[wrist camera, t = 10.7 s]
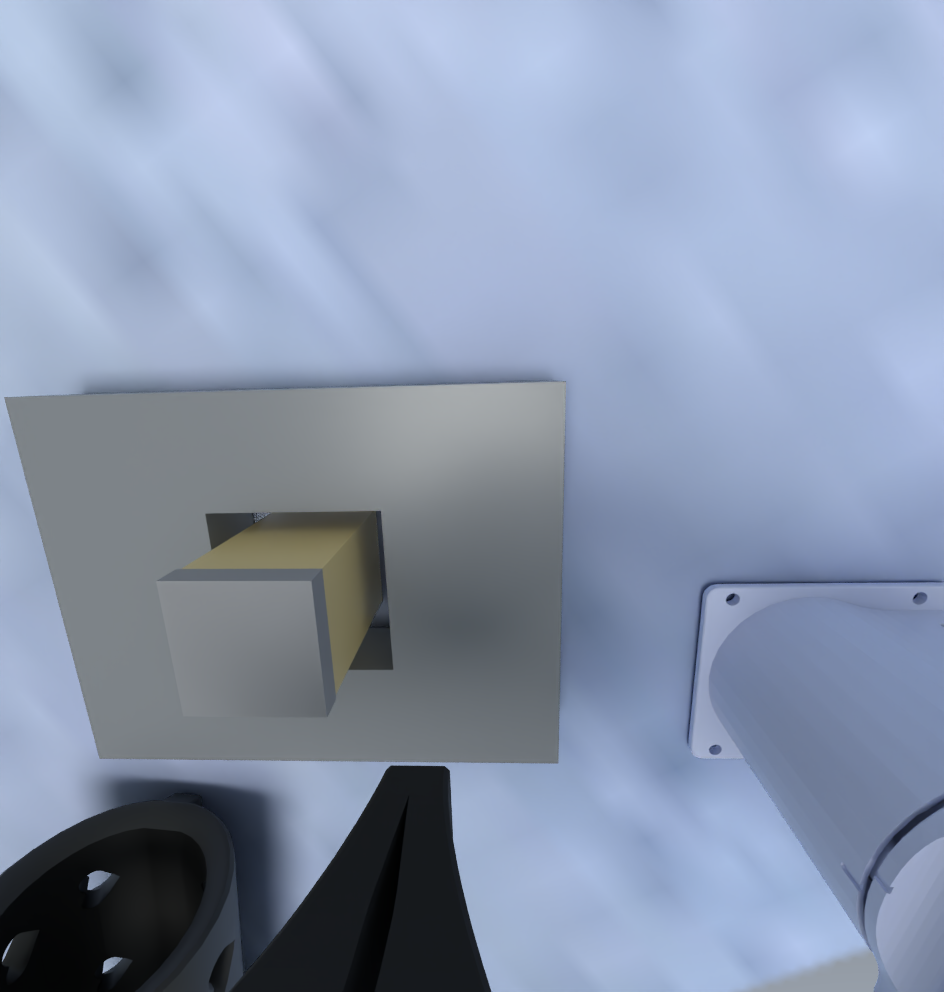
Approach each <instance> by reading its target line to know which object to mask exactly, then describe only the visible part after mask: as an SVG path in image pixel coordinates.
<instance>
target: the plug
mask: <svg viewBox="0 0 944 992" xmlns="http://www.w3.org/2000/svg"><path fill="white" fill-rule="evenodd" d="M156 583H157V588H158V593H159V598H160V603H161V608H162V613H163V618H164V623H165V628H166V633H167V638H168V643H169V648H170V653H171V658H172V663H173V668H174V673H175V678H176V682H177V687H178V692H179V697H180V702H181V707H182V712H183V716H201V717H278V718H327V717H328V715H329V713H330V711H331V709H332V707H333V705H334V703H335V701H336V693H337V691H338V689H339V687H340V685H341V683H342V681H343V679H344V677H345V675H346V673H347V671H348V669H349V667H350V665H351V663H352V661H353V659H354V657H355V655H356V653H357V651H358V649H359V647H360V645H361V643H362V641H363V639H364V637H365V635H366V633H367V631H368V629H369V627H370V625H371V623H372V621H373V619H374V617H375V615H376V613H377V611H378V609H379V606H380V604H381V602H382V600H383V598H382V585H381V572H380V558H379V545H378V531H377V518H376V511H337V512H272V513H271V514H269V515H267V516H266V517H264V518H263V519H261V520H259V521H258V522H256V523H255V524H253V525H251V526H250V527H248V528H246V529H245V530H243V531H242V532H240V533H238V534H237V535H235V536H234V537H232V538H230V539H229V540H227V541H225V542H224V543H222V544H221V545H219V546H217V547H216V548H214V549H212V550H211V551H209V552H208V553H206V554H204V555H203V556H201V557H200V558H198V559H196V560H195V561H193V562H191V563H190V564H188V565H187V566H185V567H183V568H182V569H175V570H174V571H172V572H170V573H169V574H167V575H166V576H164V577H162V578H161V579H159V580H157V581H156Z"/></svg>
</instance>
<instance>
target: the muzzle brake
mask: <svg viewBox="0 0 944 992" xmlns="http://www.w3.org/2000/svg"><path fill="white" fill-rule="evenodd" d="M100 870H101V871H105V872H109V873H112V874H111V876H110V877H109V878H108V879H107V880H106V881H105V882H104V883H102V884H101V885H100V886H98V887H96V888H94V889H92V890H87V887H88V881H89V877H88V876H87V875H89V874H90V873H92V872H94V871H100ZM13 938H14V939H13ZM12 939H13V941H12ZM11 941H12V943H11V945H10V947H9V950H8V952H7V954H6V956H5V958H4V960H3V962H2V957H3V954H4V952H5V950H6V948H7V946H8V945H9V943H10V942H11ZM111 957H120V958H122V960H121V961H120V962H119V963H118V964H117V965H116V966H114V967H113V968H111V969H110V970H108V971H107V972H105V973H102V972H103V964H104V961H105V960H107V959H109V958H111ZM242 976H243V961H242V948H241V934H240V920H239V906H238V893H237V879H236V865H235V851H234V847H233V843H232V839H231V835H230V833H229V831H228V829H227V828H226V826H225V825H224V823H223V822H222V820H221V819H220V818H218V817H217V816H216V815H215V814H214V813H212V812H211V811H210V810H208V809H206V808H204V807H202V800H201V796H200V795H191V794H181V793H175V794H174V795H172V796H170V797H169V798H167V799H165V800H164V801H162V800H153V801H146V802H139V803H133V804H129V805H125V806H122V807H118V808H115V809H111V810H108V811H106V812H103V813H101V814H98V815H96V816H93V817H91V818H88V819H86V820H84V821H82V822H80V823H78V824H76V825H74V826H72V827H70V828H68V829H66V830H64V831H62V832H60V833H59V834H57V835H55V836H54V837H52V838H51V839H49V840H48V841H46V842H44V843H43V844H41V845H40V846H38V847H37V848H35V849H33V850H32V851H31V852H29V853H28V854H27V855H25V856H24V857H23V858H21V859H20V860H19V861H17V862H16V863H15V864H13V865H12V866H11V867H9V868H8V869H7V870H5V871H4V872H3V873H2V874H1V875H0V992H229V991H230V990H231V989H232V988H233V987H234V985H235V984H236V983H237V982H238V981H239V980H240V978H241V977H242Z"/></svg>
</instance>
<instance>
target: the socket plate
mask: <svg viewBox="0 0 944 992" xmlns="http://www.w3.org/2000/svg"><path fill="white" fill-rule="evenodd" d="M565 395H566V382H564V381H525V382H489V383H454V384H419V385H383V386H348V387H313V388H277V389H242V390H207V391H171V392H136V393H101V394H71V395H49V396H26V397H4V398H5V402H6V406H7V410H8V414H9V417H10V421H11V425H12V429H13V433H14V436H15V440H16V444H17V448H18V451H19V455H20V459H21V463H22V467H23V470H24V474H25V478H26V482H27V485H28V489H29V493H30V497H31V501H32V504H33V508H34V512H35V516H36V520H37V523H38V527H39V531H40V535H41V538H42V542H43V546H44V550H45V554H46V557H47V561H48V565H49V569H50V573H51V576H52V580H53V584H54V588H55V591H56V595H57V599H58V603H59V607H60V610H61V614H62V618H63V622H64V625H65V629H66V633H67V637H68V641H69V644H70V648H71V652H72V656H73V660H74V663H75V667H76V671H77V675H78V678H79V682H80V686H81V690H82V694H83V697H84V701H85V705H86V709H87V712H88V716H89V720H90V724H91V728H92V731H93V735H94V739H95V743H96V747H97V750H98V754H99V758H100V759H188V760H282V761H377V762H471V763H558V749H559V699H560V648H561V597H562V547H563V496H564V446H565ZM337 511H381V519H382V532H383V545H384V557H385V570H386V583H387V596H388V609H389V621H390V627H379V628H369V629H368V631H367V633H366V635H365V637H364V639H363V641H362V643H361V645H360V647H359V649H358V651H357V653H356V655H355V657H354V659H353V661H352V663H351V665H350V667H349V669H348V671H347V673H346V675H345V677H344V679H343V681H342V683H341V685H340V687H339V689H338V691H337V693H336V701H335V703H334V705H333V707H332V709H331V711H330V713H329V715H328V717H327V718H278V717H201V716H183V712H182V707H181V702H180V697H179V692H178V687H177V682H176V678H175V673H174V668H173V663H172V658H171V653H170V648H169V643H168V638H167V633H166V628H165V623H164V618H163V613H162V608H161V603H160V598H159V593H158V588H157V583H156V581H157V580H159V579H161V578H162V577H164V576H166V575H167V574H169V573H170V572H172V571H174V570H175V569H182V568H183V567H185V566H187V565H188V564H190V563H191V562H193V561H195V560H196V559H198V558H200V557H201V556H203V555H204V554H206V553H208V552H209V551H211V550H212V549H214V548H216V547H217V546H219V545H221V544H222V543H224V542H225V541H227V540H229V539H230V538H232V537H234V536H235V535H237V534H238V533H240V532H242V531H243V530H245V529H246V528H248V527H250V526H251V525H253V524H254V521H253V514H252V513H272V512H337Z"/></svg>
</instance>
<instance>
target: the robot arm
mask: <svg viewBox="0 0 944 992" xmlns="http://www.w3.org/2000/svg"><path fill="white" fill-rule="evenodd" d="M733 593H735V596H734V598H733V599H732V600H730V601H726V598H727V596H728V595H730V594H733ZM917 593H918V595H917V597H916V598H915V599H913V597H914V595H916V594H917ZM688 745H689V749H690V750H691V752H692V754H693V755H694V756H695V757H697V758H702V759H745V760H746V762H747V763H748V765H749V766H750V768H751V769H752V771H753V772H754V774H755V775H756V777H757V778H758V780H759V781H760V783H761V784H762V786H763V787H764V789H765V790H766V792H767V794H768V795H769V797H770V798H771V800H772V801H773V803H774V804H775V806H776V807H777V809H778V810H779V812H780V813H781V815H782V816H783V818H784V819H785V821H786V822H787V824H788V825H789V827H790V829H791V830H792V832H793V833H794V835H795V836H796V838H797V839H798V841H799V842H800V844H801V845H802V847H803V848H804V850H805V851H806V853H807V854H808V856H809V857H810V859H811V860H812V862H813V863H814V865H815V867H816V868H817V870H818V871H819V873H820V874H821V876H822V877H823V879H824V880H825V882H826V883H827V885H828V886H829V888H830V889H831V891H832V892H833V894H834V895H835V897H836V898H837V900H838V902H839V903H840V905H841V906H842V908H843V909H844V911H845V912H846V914H847V915H848V917H849V918H850V920H851V921H852V923H853V924H854V926H855V927H856V929H857V930H858V932H859V933H860V935H861V937H862V938H863V940H864V941H865V943H866V944H867V946H868V947H869V949H870V950H871V951H872V952H873V954H874V956H875V959H876V961H877V963H878V968H879V976H878V980H877V983H876V985H875V987H874V992H944V583H943V582H925V583H792V584H715V585H711V586H709V587H708V588H707V589H706V590H705V591H704V594H703V600H702V610H701V620H700V630H699V640H698V650H697V660H696V670H695V680H694V690H693V700H692V710H691V720H690V730H689V741H688ZM712 745H716V746H715V747H713V748H710V747H711V746H712ZM229 992H491V989H490V986H489V983H488V980H487V977H486V973H485V970H484V967H483V964H482V960H481V957H480V953H479V950H478V947H477V943H476V940H475V936H474V933H473V929H472V925H471V921H470V918H469V914H468V910H467V906H466V901H465V897H464V893H463V889H462V885H461V880H460V875H459V871H458V866H457V860H456V854H455V849H454V843H453V829H452V808H451V787H450V771H449V770H448V769H447V768H446V767H445V766H390V767H389V768H388V769H387V770H386V771H385V773H384V775H383V777H382V779H381V781H380V783H379V785H378V787H377V788H376V790H375V792H374V794H373V796H372V797H371V799H370V801H369V803H368V804H367V806H366V808H365V809H364V811H363V813H362V814H361V816H360V818H359V819H358V821H357V823H356V824H355V826H354V827H353V829H352V830H351V832H350V833H349V835H348V837H347V838H346V840H345V841H344V843H343V844H342V846H341V847H340V849H339V851H338V852H337V854H336V855H335V857H334V858H333V860H332V861H331V863H330V864H329V865H328V867H327V868H326V870H325V871H324V872H323V874H322V875H321V877H320V878H319V880H318V881H317V882H316V884H315V885H314V887H313V888H312V889H311V891H310V892H309V894H308V895H307V896H306V898H305V899H304V901H303V902H302V903H301V905H300V906H299V907H298V909H297V910H296V911H295V912H294V914H293V915H292V916H291V918H290V919H289V920H288V922H287V923H286V924H285V925H284V927H283V928H282V929H281V931H280V932H279V933H278V934H277V936H276V937H275V938H274V939H273V940H272V942H271V943H270V944H269V945H268V947H267V948H266V949H265V950H264V952H263V953H262V954H261V955H260V956H259V958H258V959H257V960H256V961H255V962H254V963H253V965H252V966H251V967H250V968H249V969H248V970H247V972H246V973H245V974H244V975H243V976H242V977H241V978H240V980H239V981H238V982H237V983H236V984H235V985H234V987H233V988H232V989H231V990H230V991H229Z"/></svg>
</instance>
